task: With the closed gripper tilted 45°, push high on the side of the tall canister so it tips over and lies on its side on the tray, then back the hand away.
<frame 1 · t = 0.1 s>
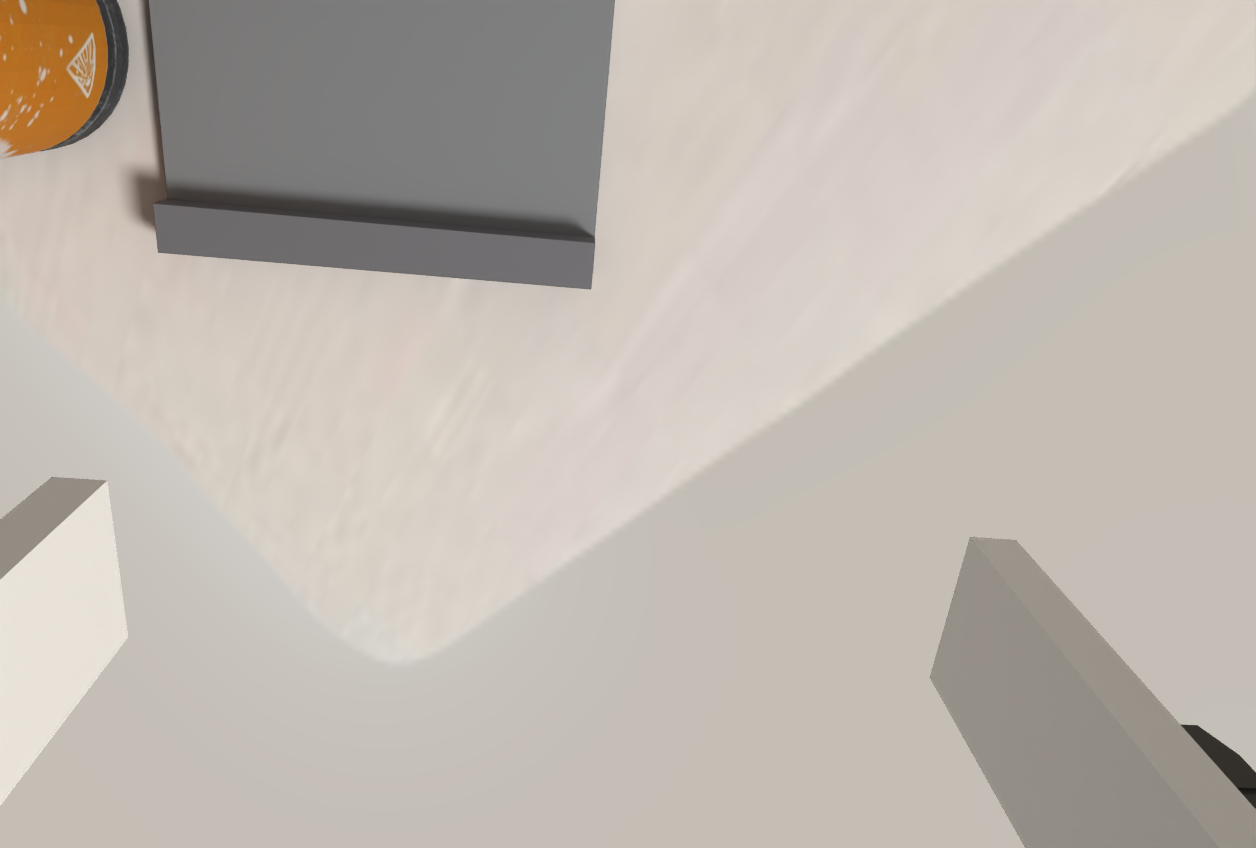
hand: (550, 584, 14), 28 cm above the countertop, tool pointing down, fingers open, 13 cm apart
tray: (387, 41, 36), on the countertop
canister: (13, 1, 35), on the countertop
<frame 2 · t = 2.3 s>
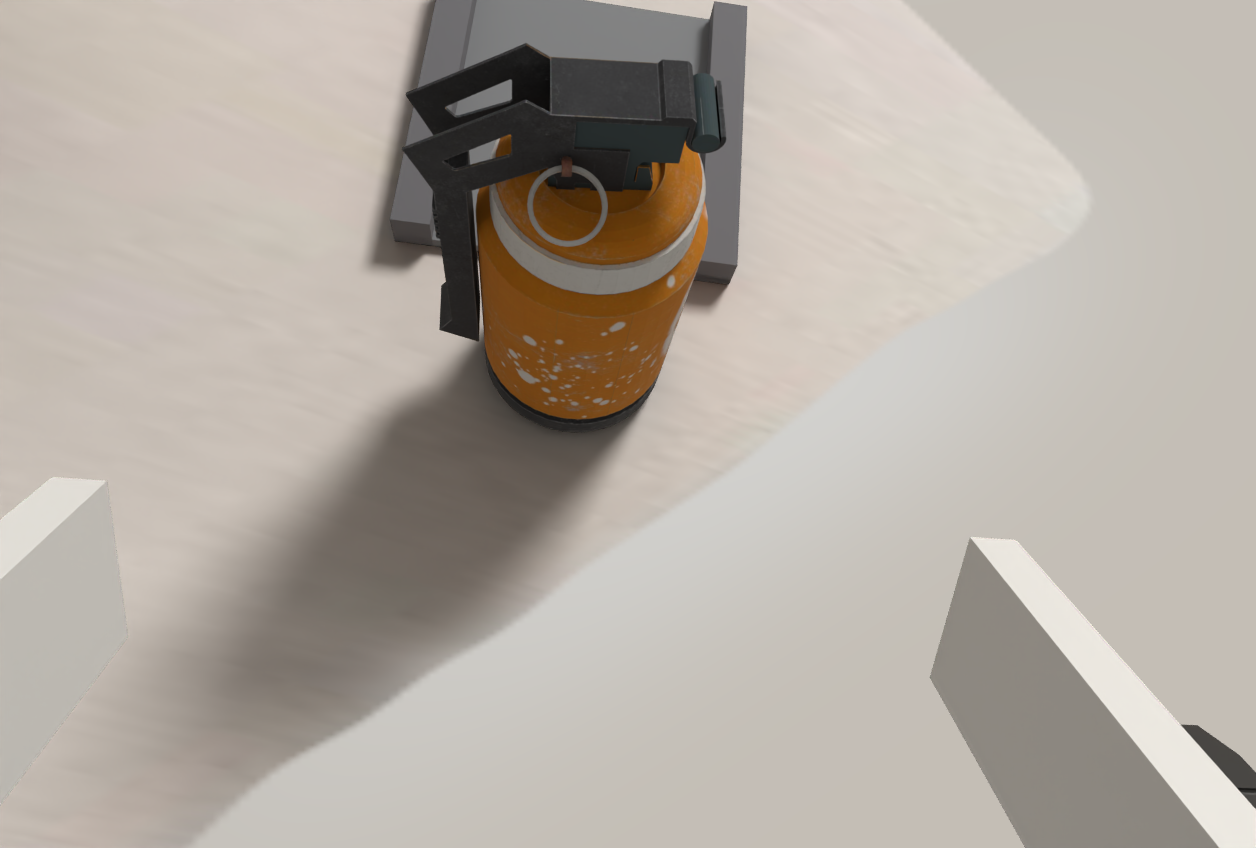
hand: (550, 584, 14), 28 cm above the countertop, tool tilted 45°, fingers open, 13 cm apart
tray: (580, 128, 51), on the countertop
canister: (552, 356, 46), on the countertop
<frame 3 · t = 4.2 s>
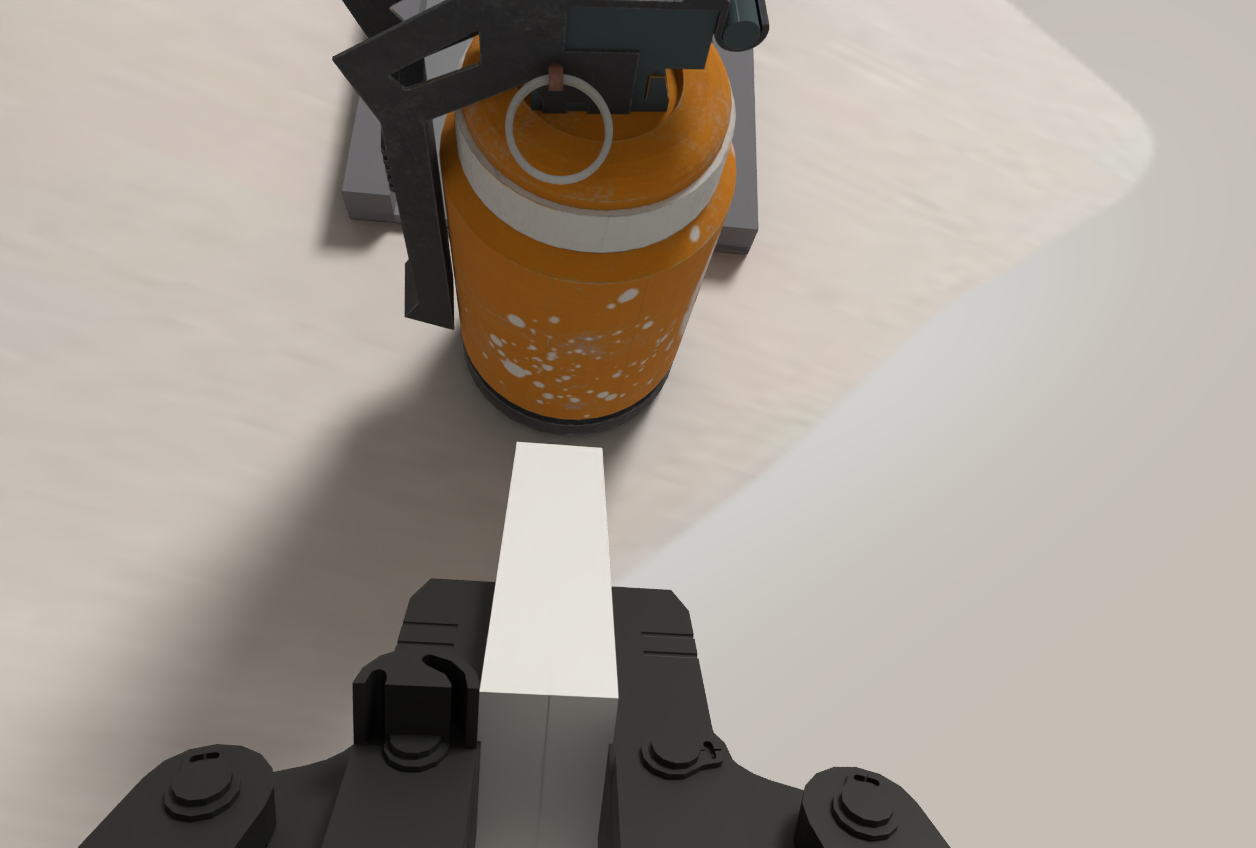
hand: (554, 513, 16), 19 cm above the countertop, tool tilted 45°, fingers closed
tray: (564, 81, 44), on the countertop
canister: (544, 347, 39), on the countertop
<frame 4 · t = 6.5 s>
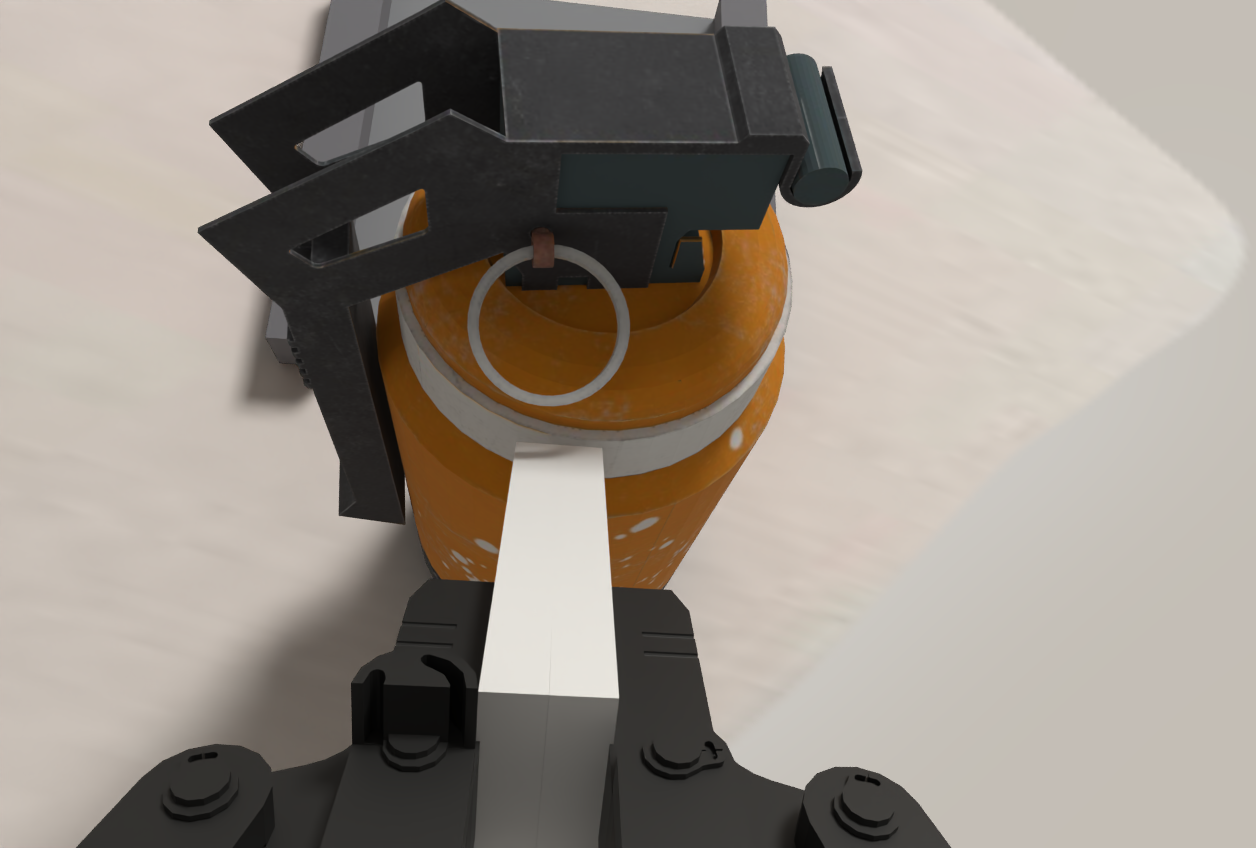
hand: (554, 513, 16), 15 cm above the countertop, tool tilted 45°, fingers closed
tray: (544, 179, 36), on the countertop
canister: (521, 524, 31), on the countertop, touching gripper
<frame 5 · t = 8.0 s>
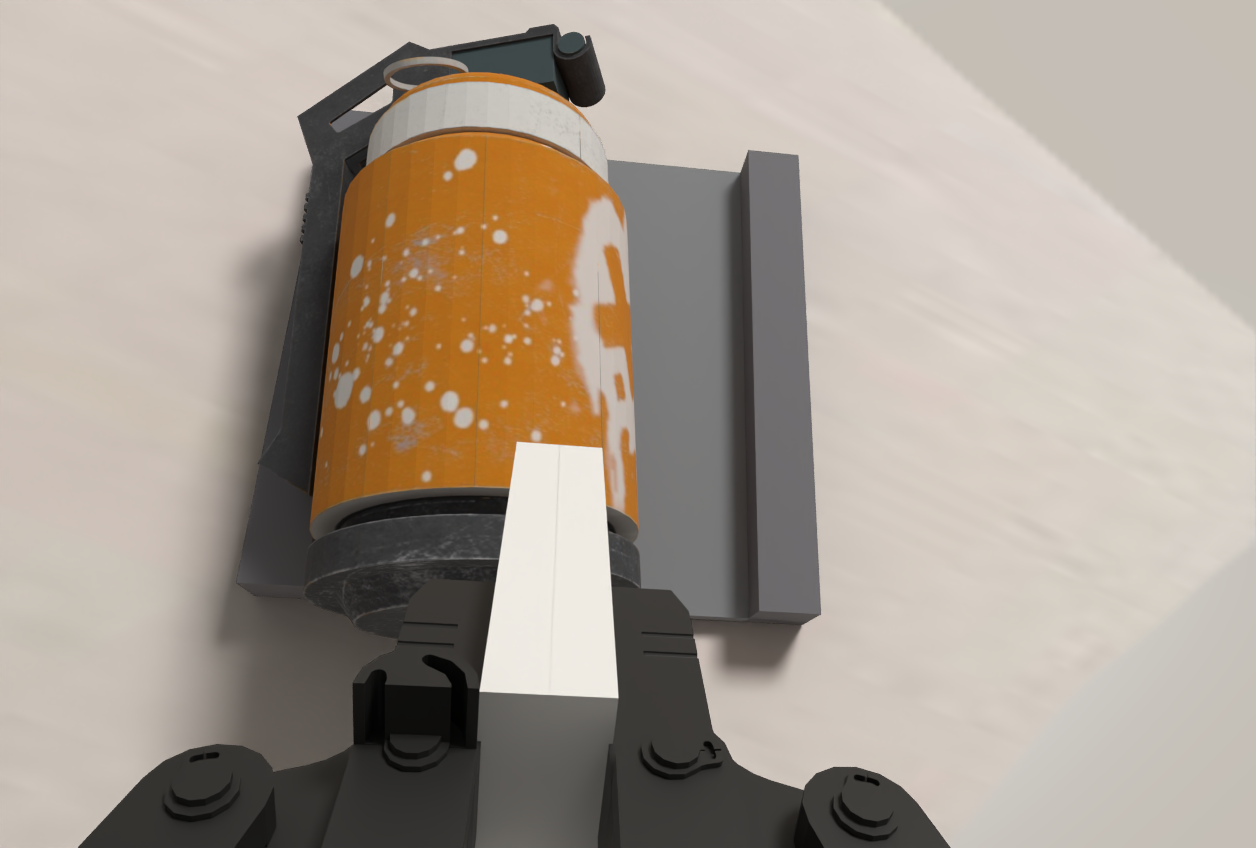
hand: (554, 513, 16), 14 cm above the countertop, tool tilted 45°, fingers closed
tray: (553, 364, 33), on the countertop
canister: (438, 634, 24), point 5 cm above the countertop, touching tray
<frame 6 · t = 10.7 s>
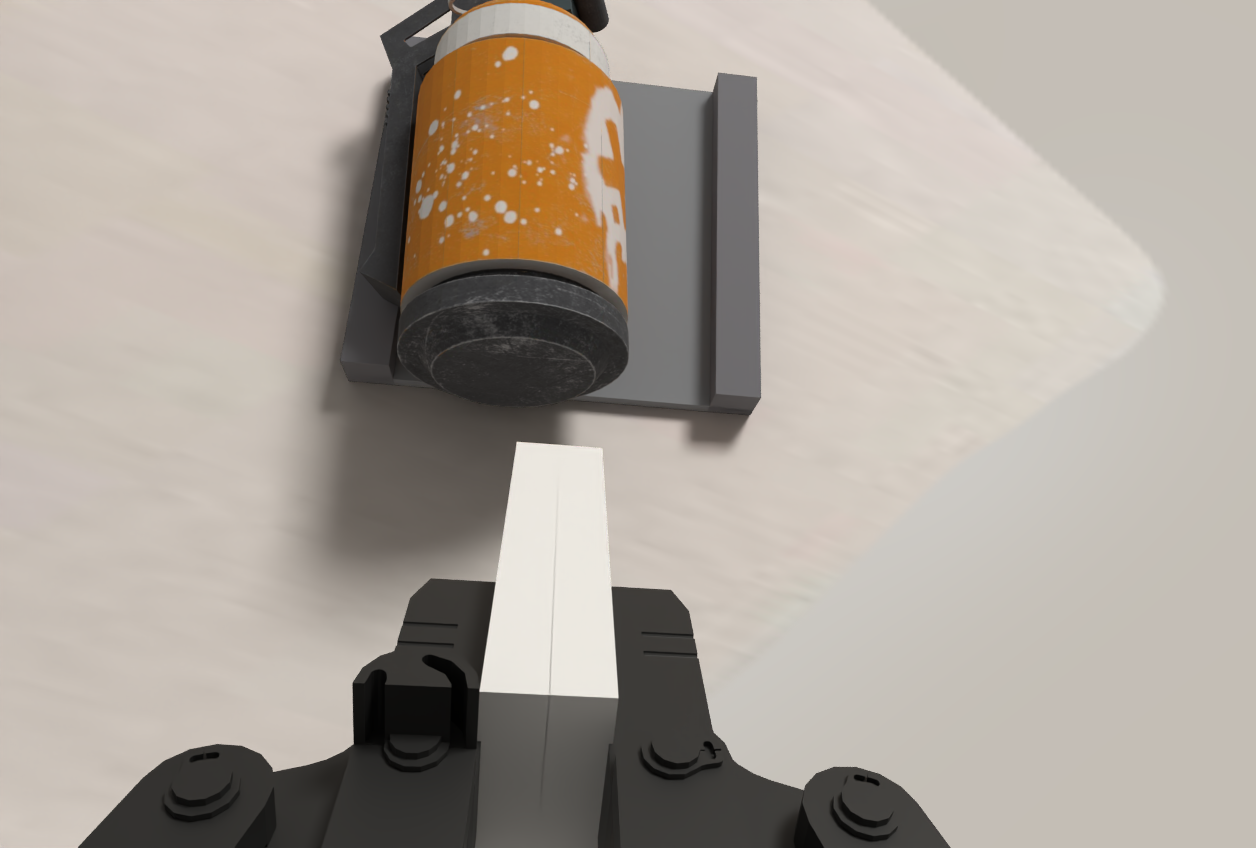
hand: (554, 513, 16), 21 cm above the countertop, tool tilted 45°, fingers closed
tray: (567, 229, 43), on the countertop
canister: (488, 382, 35), point 5 cm above the countertop, touching tray
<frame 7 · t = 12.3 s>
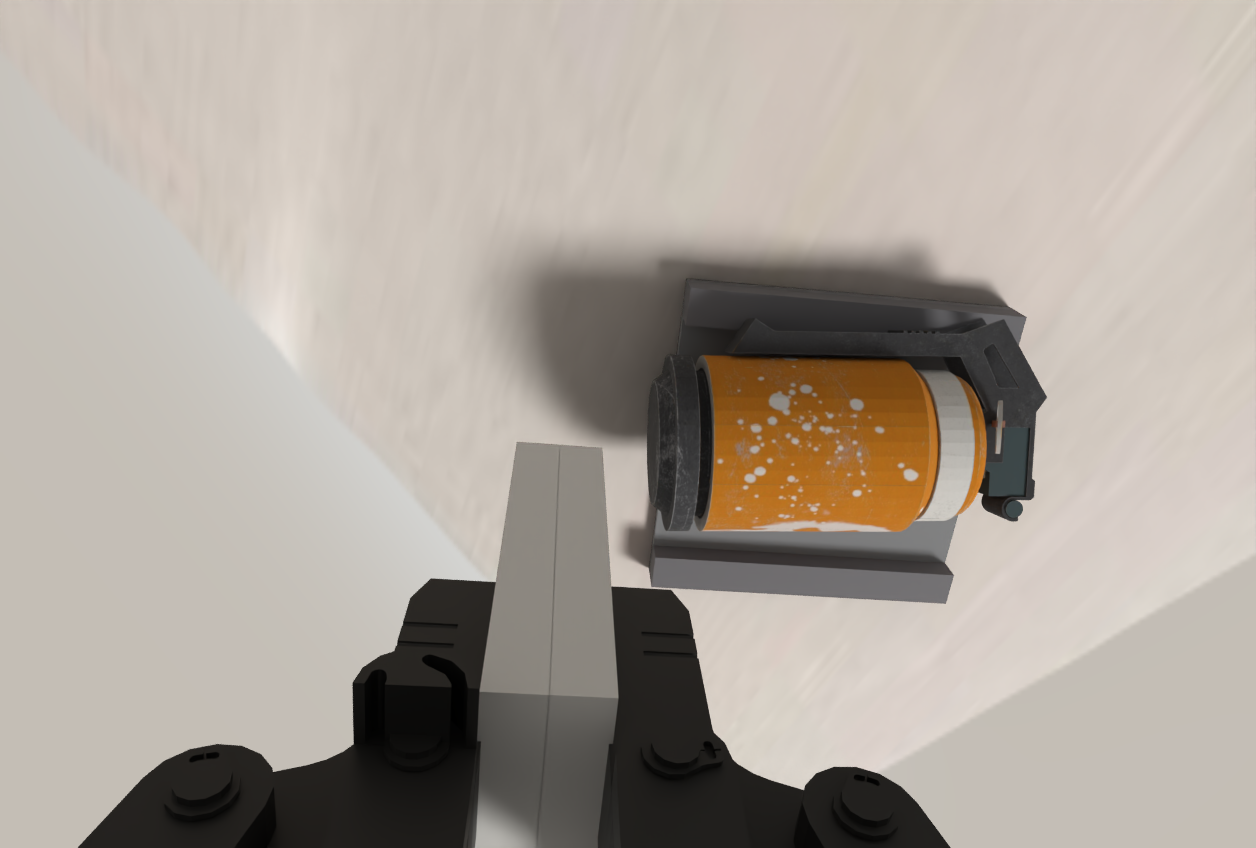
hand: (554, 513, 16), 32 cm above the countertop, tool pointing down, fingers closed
tray: (820, 444, 52), on the countertop
canister: (649, 422, 45), point 5 cm above the countertop, touching tray
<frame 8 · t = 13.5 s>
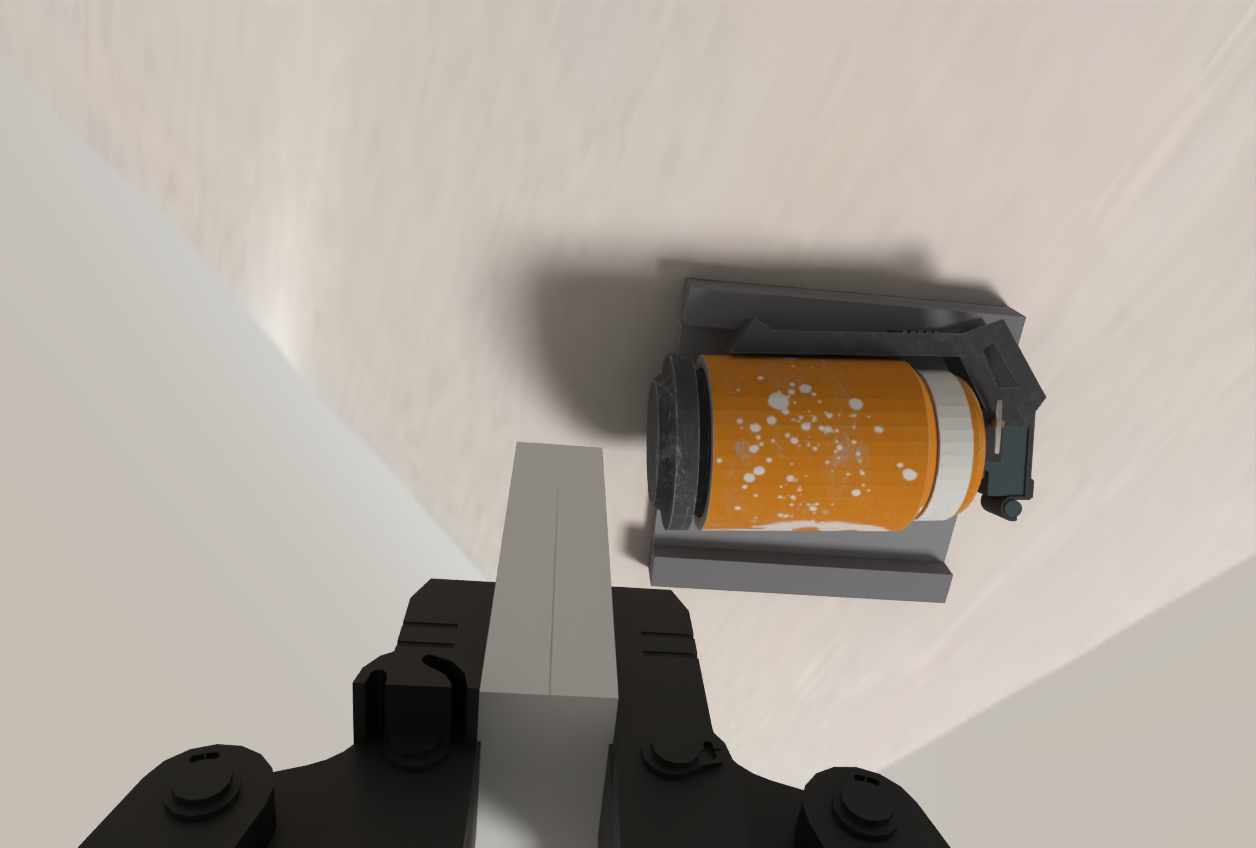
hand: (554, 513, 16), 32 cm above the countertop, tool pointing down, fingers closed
tray: (819, 444, 52), on the countertop
canister: (648, 421, 45), point 5 cm above the countertop, touching tray
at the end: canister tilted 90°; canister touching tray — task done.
